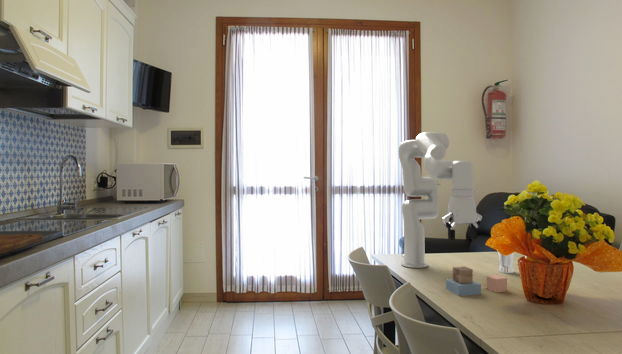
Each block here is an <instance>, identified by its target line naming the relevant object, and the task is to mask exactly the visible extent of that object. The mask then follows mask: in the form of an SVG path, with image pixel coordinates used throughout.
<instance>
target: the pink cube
mask: <svg viewBox="0 0 622 354" xmlns="http://www.w3.org/2000/svg"><path fill="white" fill-rule="evenodd" d="M486 289H487V290H488V291H491V292H495V293H502V292H503V293H504V292H508V278H507V277H505V276H502V275H498V274H493V275H486Z"/></svg>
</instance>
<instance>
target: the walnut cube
mask: <svg viewBox="0 0 622 354" xmlns="http://www.w3.org/2000/svg"><path fill="white" fill-rule="evenodd" d="M473 276H474V275H473V269H472V268H470V267H467V266H455V267H454V266H453V267H452V279H453V281H455V282H458V283H460V284H464V283H473V281H474V280H473V278H474V277H473Z"/></svg>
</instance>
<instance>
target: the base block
mask: <svg viewBox="0 0 622 354" xmlns="http://www.w3.org/2000/svg"><path fill="white" fill-rule="evenodd" d="M445 289H446V290H447V291H449V292H451V293H452V294H455V295H456V296H474V295H482V284H481V283H479V282H478V281H476V280H473V283H464V284H460V283H458V282H455V281H453V278H446V279H445Z"/></svg>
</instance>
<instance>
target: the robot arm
mask: <svg viewBox="0 0 622 354" xmlns="http://www.w3.org/2000/svg"><path fill="white" fill-rule="evenodd" d="M449 146H450V139H449V136H448V135H447V134H446V133H445V132H441V131H440V132H438V131H437V132H436V131H425V132H420V133H419V134H418V135H417V136H416V137H415V139H409V140H405V141H402V142H401V143H400V144H399V146H398V159H399V162H400V164H401V168H402V181H403V191H404V194H405V195H406V196H407V197H415V199H413V198H412V199H407V200H405V201H403V203H402V204H401V211H402V212H401V213H402V218H403V234H404V235H403V242H404V244H403V246H404V247H403V249H404V252H403V253H404V254H402V255H401V257H402V258H403V260H402V261H401V262H400V264H401V266H403V267H406V268H413V269H422V268H423V269H424V268H427V267H428V266H429V263H428V262H427V261H425V258H426V257H425V256H426V255H425V254H426V253H425V252H426V251H425V245H426V244H425V240H426V239H425V237H426V236H425V231H426V230H425V227H424V225H423V223H422V222H421V220H432V219H433V220H434V219H436V218H438V216H439V213H440V201H439V199H440V198H439V190H438V183H437V181H442V180H445V181H446V180H451V196H450V197H449V201H448V205H447V213H446V215H444V216H443V217H441V219H442V222H443V225H444V226H445V228H446V229H447V239H448V240H451V241H455V240H456V230H455V228H456V226H457V225H469V238H470V239H474V240H476V239H477V237H478V236H477V235H478V234H477V233H478V231H477V229H478V228H479V225H480V224H481V221H482V219H483V216H482V215H481V214H479V213H478V212H477V206H476V205H477V204H476V199H475V196H474V195H475V193H476V191H475V189H474V162H473V161H471V160H448V159H447V160H443V159H444V158H445V157H446V154H447V150H448V148H449ZM415 158H416V159H418V158H419V159H420V158H421V159H423V165H424V170H425V171H426V173H427V174H428V175H429V176H422V171H421V170H422V169H421V165H420V164H419V163H418V161H417V160H416V159H415ZM436 180H437V181H436ZM416 197H425V199H424V198H423V199H421V198H418V199H417V198H416Z"/></svg>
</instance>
